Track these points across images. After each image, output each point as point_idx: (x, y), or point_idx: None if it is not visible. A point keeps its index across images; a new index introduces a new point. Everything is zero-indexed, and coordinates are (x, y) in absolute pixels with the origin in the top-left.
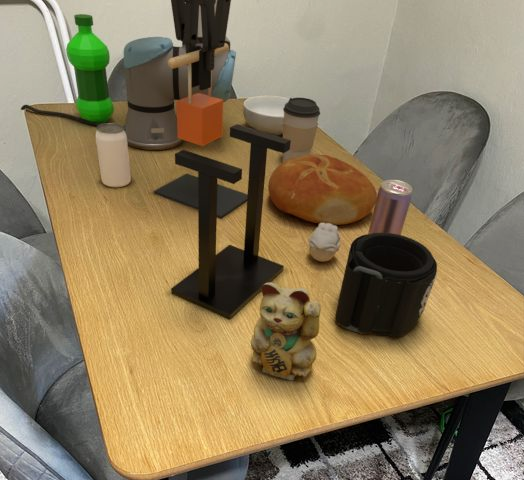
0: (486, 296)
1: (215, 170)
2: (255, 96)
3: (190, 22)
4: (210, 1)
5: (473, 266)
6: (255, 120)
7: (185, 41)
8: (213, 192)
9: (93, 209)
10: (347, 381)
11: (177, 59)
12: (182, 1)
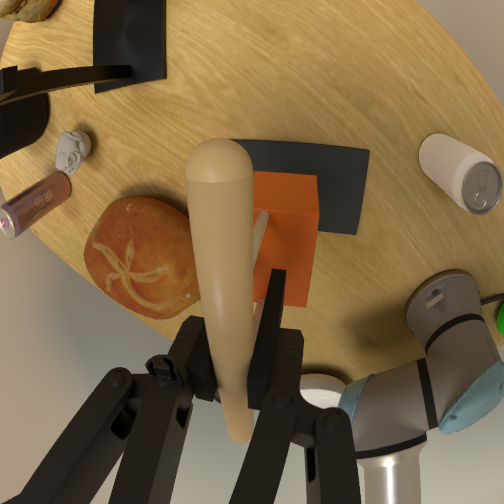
0: (12, 192)
1: None
2: None
3: (235, 486)
4: None
5: (32, 225)
6: (323, 381)
7: (287, 406)
8: None
9: (411, 56)
10: (22, 33)
11: (191, 208)
12: None
